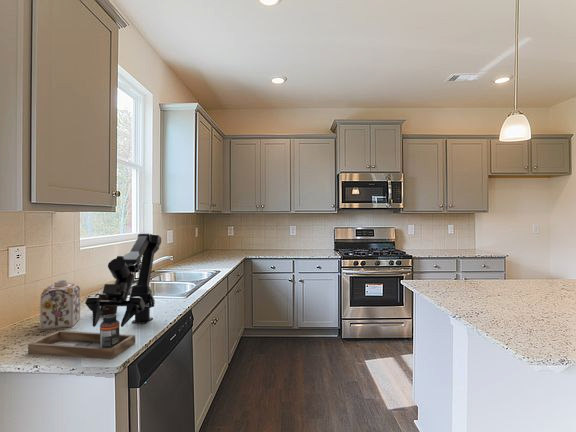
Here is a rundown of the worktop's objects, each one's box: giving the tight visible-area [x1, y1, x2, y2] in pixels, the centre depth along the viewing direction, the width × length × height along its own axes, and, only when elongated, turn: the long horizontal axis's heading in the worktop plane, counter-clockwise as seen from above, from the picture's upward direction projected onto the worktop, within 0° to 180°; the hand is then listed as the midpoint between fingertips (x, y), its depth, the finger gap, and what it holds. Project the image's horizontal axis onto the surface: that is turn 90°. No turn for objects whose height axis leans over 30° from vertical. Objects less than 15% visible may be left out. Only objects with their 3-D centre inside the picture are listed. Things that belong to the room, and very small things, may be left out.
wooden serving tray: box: [27, 330, 136, 360], centre depth 116 cm, size 13×30×3 cm, turn 83°
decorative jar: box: [39, 279, 81, 330], centre depth 140 cm, size 12×12×18 cm
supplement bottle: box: [99, 314, 120, 348], centre depth 115 cm, size 6×6×11 cm
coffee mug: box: [94, 290, 118, 317], centre depth 155 cm, size 12×9×10 cm
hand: (107, 326), depth 113 cm, fingers open, 9 cm apart
